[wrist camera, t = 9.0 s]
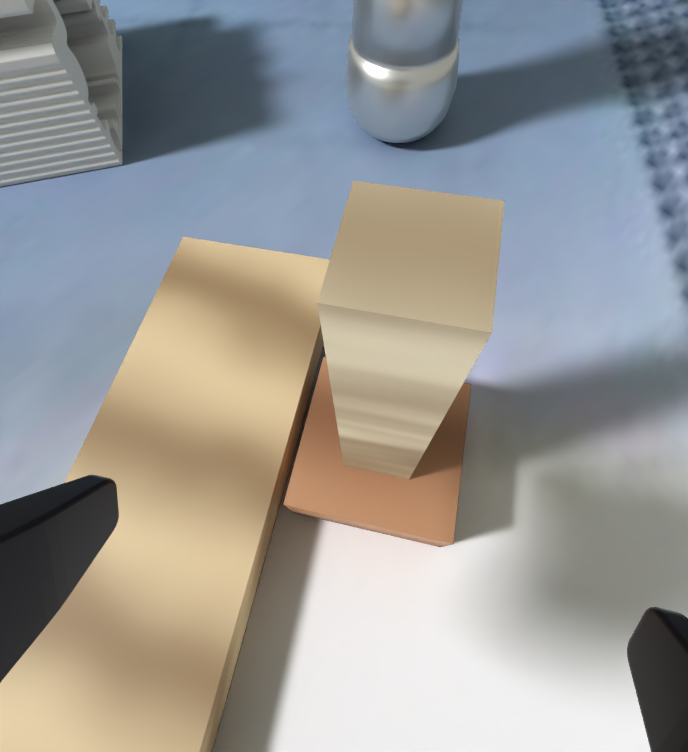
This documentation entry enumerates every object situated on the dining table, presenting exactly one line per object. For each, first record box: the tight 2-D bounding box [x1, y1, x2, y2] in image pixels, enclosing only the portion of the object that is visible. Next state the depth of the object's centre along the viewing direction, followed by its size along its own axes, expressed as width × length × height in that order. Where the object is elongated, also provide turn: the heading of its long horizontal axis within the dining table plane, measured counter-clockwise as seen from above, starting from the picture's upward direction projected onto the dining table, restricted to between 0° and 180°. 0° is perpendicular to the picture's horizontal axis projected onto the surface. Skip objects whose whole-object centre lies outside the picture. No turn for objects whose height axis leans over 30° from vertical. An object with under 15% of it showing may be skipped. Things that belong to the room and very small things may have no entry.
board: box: [0, 237, 330, 752], centre depth 17 cm, size 22×8×2 cm, turn 168°
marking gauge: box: [283, 181, 504, 547], centre depth 12 cm, size 6×6×13 cm
